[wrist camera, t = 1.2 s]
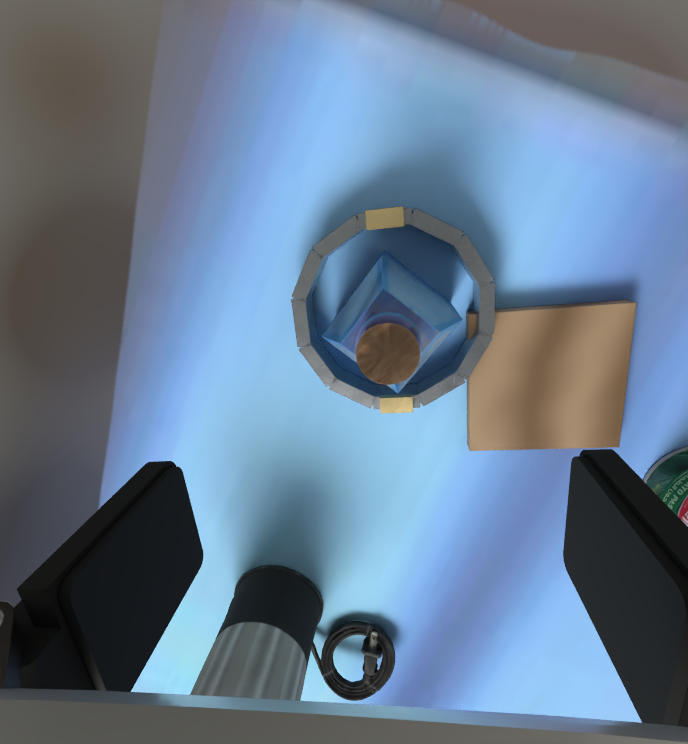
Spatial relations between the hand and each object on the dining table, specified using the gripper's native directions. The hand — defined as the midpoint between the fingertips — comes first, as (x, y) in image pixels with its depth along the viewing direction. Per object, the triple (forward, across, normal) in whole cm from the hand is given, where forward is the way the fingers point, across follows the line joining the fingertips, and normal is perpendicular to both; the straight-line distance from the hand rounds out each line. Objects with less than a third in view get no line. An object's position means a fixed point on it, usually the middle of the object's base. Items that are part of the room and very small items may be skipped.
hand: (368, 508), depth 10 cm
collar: (+23, 0, 0) cm, 23 cm away
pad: (+23, -11, +6) cm, 26 cm away
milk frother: (+23, +9, +31) cm, 40 cm away
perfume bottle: (+24, 0, 0) cm, 24 cm away
